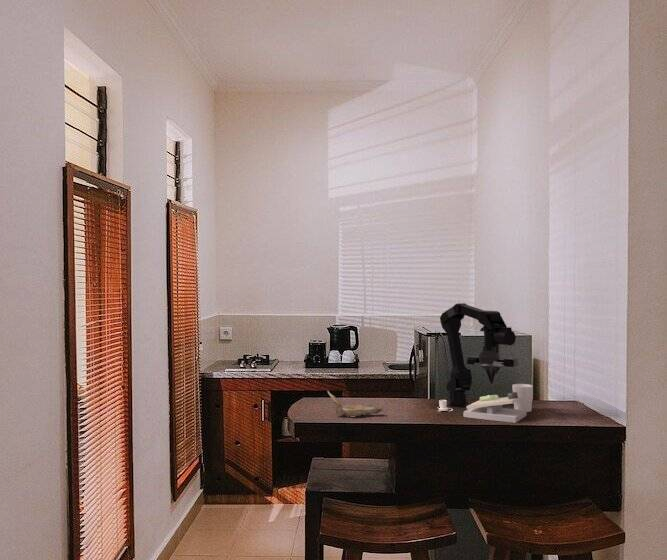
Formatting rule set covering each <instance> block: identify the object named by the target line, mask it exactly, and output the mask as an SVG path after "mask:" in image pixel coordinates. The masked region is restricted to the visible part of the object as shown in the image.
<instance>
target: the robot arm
mask: <svg viewBox="0 0 667 560" xmlns="http://www.w3.org/2000/svg"><path fill="white" fill-rule="evenodd" d="M465 317H468V318H472V319H474V320H477V321H478V323H479V324H480V325H482V327H481V328H480V329H479V331H480V332H483V346H482V351H481V352H480V354H479V355H470V356H468V357H467V358H466V364H465V360H464V355H463V348H462V344H461V338H460V329H461V326H462V320H464V318H465ZM439 320H440V324H441V327H442V330H443V331H444V332H445V333H446V336H447V341H448V347H449V354H450V358H451V365H452V369H451V372H450V374H449V376H450V379H449V381H448V382H447V384H446V386H445V387H446V391H447V392H449V404H448V406H452V407H461V408H465V407H466V406H468V405H469V394H468V393H467V392H468V391H470V390H471V386H472V383H473V376H472V371H471V368H468V367H466V365H473V366H474V365H475V364H480V367H481V368H483V370H485V372H486V374H487V377H488V380H489V382H490V384H491V385H492V384H494V383H495V380H496V378H497V375H498V373H499V370H500V369H501V368H503V367H506V368H508V367H509V368H515V367H518V366H519V365H518V363H519V361H518V359H517V358H515V357H506V358H503V359H502V358H501V356H500V349H501V345H503V346H510V347H511V346H513V345H514V344H515V342H516V340H517V337H516V334H515V332H514V331H513V330H512V327H511V326H510V327H508V326H507V324H506V322H505V321H504V319H503V317H502V315H501V313H500V312H499V311H497V310H483V309H481V308H478V307H474V306H473V305H468V304H467V303H464V302H463V303H461V302H459V303H455V304H454V305H453V306H452V307H450V308H448V309H447V310H445V311H444V312H442V313H441V315H440V317H439Z"/></svg>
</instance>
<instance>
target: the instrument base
mask: <svg viewBox="0 0 667 560" xmlns="http://www.w3.org/2000/svg"><path fill="white" fill-rule="evenodd" d="M503 405H504V404H503ZM503 405H495V406H487V407H478V408H470V409H466V410H464V411H463V412H462V413H463V414H462V415H463V417H464V418H469V419H479V420H480V419H481V420H486V421H487V420H488V421H496V422H497V421H498V422H504V423H505V422H506V423H512V424H513V423H514V424H515V423H518V422H519V421H520V420H522V419H523V418H525V417H527V413H528V412H526V410H517V409H514V408H506V407H504V408H503Z"/></svg>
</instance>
